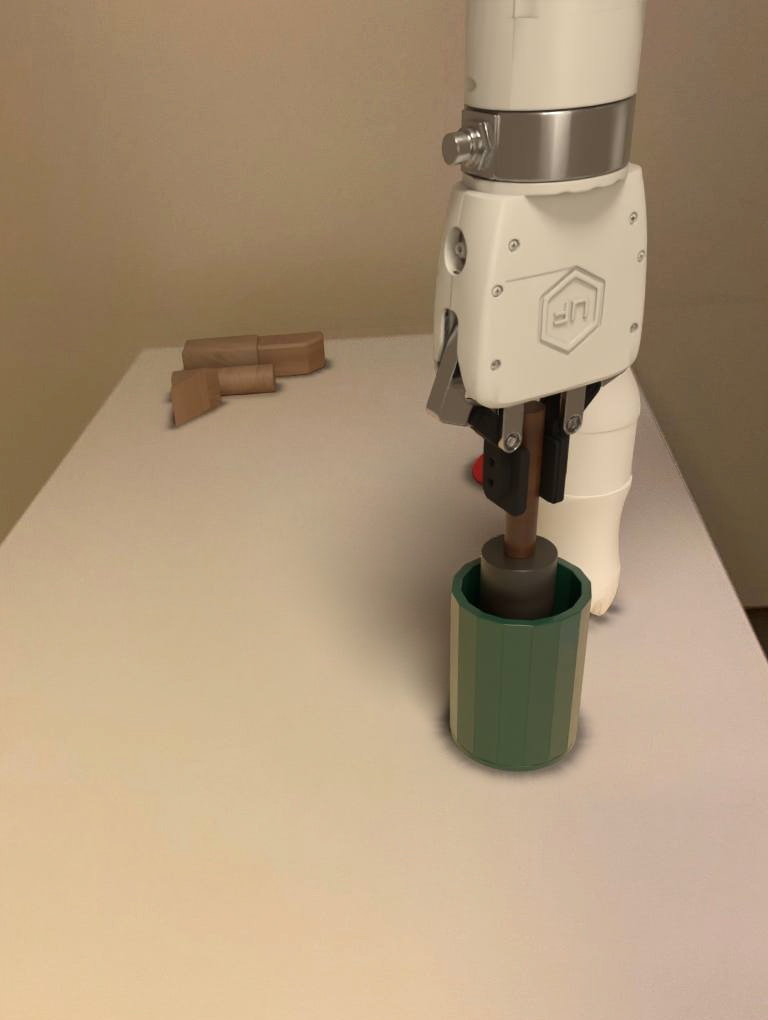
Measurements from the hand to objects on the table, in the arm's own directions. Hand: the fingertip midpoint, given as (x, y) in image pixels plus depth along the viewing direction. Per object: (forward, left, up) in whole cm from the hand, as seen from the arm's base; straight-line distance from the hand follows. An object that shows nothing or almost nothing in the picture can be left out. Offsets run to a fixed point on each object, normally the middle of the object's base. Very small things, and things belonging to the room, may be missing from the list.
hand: (523, 497), depth 56 cm
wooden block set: (+52, -40, -18) cm, 68 cm away
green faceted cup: (0, 0, -18) cm, 18 cm away
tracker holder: (+14, -33, -18) cm, 40 cm away
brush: (0, 0, -11) cm, 11 cm away
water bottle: (+2, -16, -18) cm, 24 cm away
